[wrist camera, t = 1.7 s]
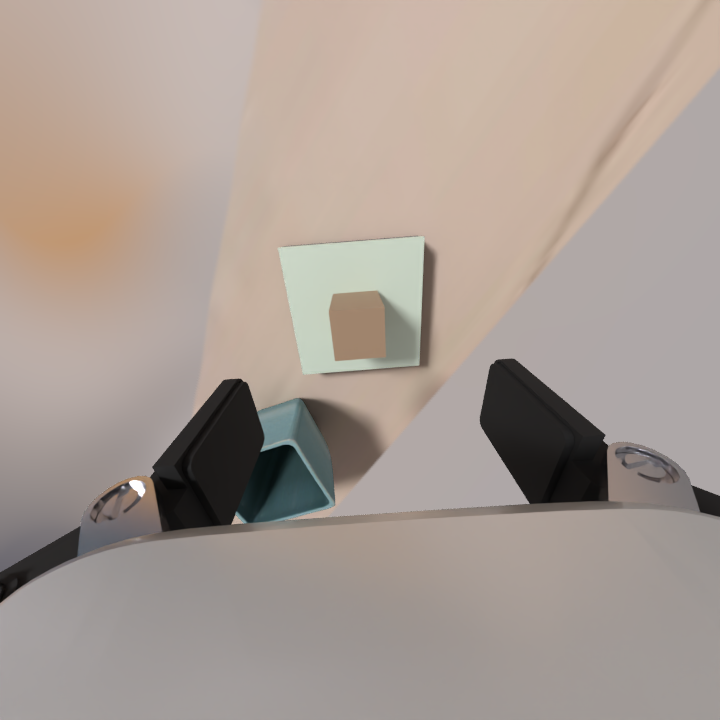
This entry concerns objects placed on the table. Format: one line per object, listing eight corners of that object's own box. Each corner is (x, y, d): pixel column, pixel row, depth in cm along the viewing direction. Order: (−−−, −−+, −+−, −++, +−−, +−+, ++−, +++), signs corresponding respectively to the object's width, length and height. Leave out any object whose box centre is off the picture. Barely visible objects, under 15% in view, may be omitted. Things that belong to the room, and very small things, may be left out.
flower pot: (309, 376, 27) (292, 438, 19) (340, 435, 31) (337, 507, 23) (235, 401, 28) (190, 469, 20) (274, 455, 32) (249, 530, 24)
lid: (416, 359, 25) (434, 396, 20) (305, 368, 25) (292, 407, 20) (420, 236, 20) (446, 238, 15) (281, 247, 20) (256, 253, 15)
